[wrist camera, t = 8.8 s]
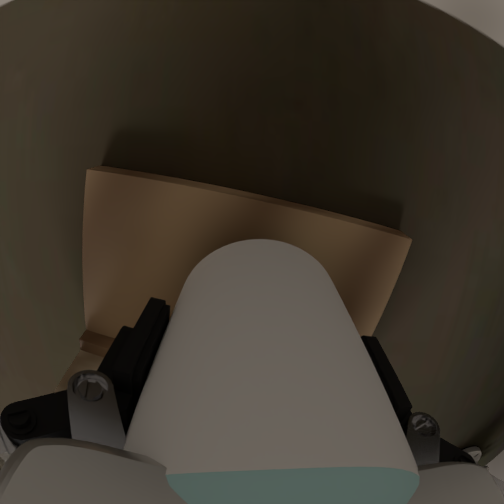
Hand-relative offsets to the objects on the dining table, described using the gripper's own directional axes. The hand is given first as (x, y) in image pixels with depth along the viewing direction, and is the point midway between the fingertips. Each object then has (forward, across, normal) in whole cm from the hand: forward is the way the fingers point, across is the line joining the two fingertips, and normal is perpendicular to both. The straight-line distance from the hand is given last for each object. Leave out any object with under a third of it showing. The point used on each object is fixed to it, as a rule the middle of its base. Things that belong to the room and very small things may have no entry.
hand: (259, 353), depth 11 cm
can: (+3, 0, 0) cm, 3 cm away
